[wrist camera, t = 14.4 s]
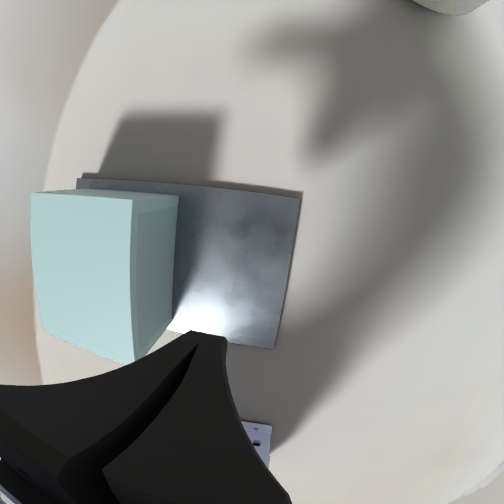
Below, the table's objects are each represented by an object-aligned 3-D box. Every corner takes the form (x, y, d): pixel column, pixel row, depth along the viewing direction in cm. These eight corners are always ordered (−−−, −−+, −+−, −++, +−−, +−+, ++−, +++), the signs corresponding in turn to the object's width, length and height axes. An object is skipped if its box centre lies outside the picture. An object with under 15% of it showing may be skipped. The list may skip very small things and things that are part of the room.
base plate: (299, 198, 18) (304, 200, 14) (274, 346, 20) (272, 373, 17) (80, 178, 19) (52, 178, 15) (81, 302, 21) (58, 316, 18)
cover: (179, 195, 18) (132, 200, 12) (171, 321, 20) (135, 367, 14) (88, 188, 18) (30, 192, 12) (89, 299, 21) (42, 330, 14)
